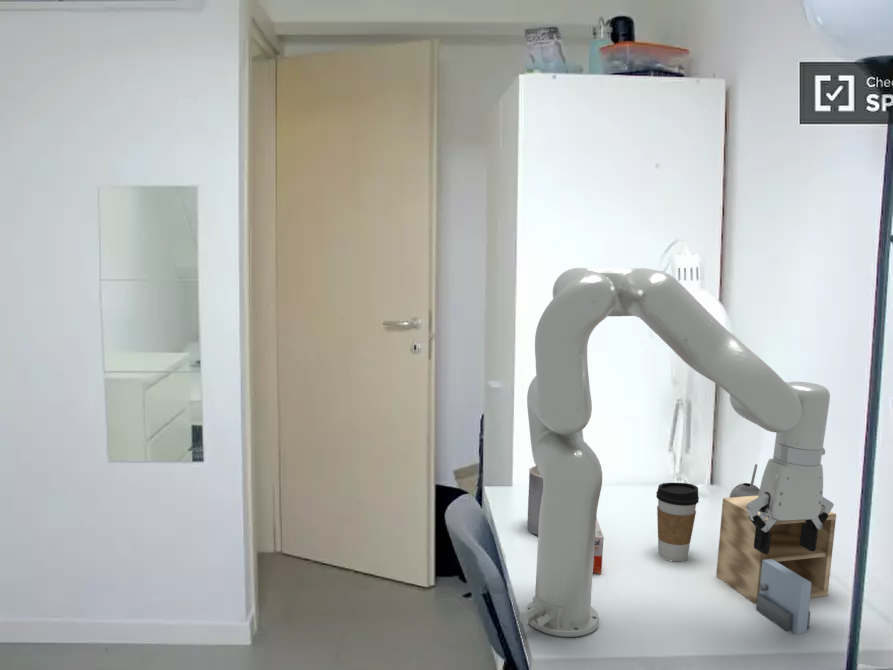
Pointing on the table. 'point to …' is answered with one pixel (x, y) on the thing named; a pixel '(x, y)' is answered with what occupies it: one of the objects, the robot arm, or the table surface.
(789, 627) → the hinge clips
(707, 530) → the table surface
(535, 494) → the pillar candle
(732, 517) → the cabinet
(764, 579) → the door panel
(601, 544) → the medicine box
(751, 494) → the beverage cup
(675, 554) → the coffee cup
